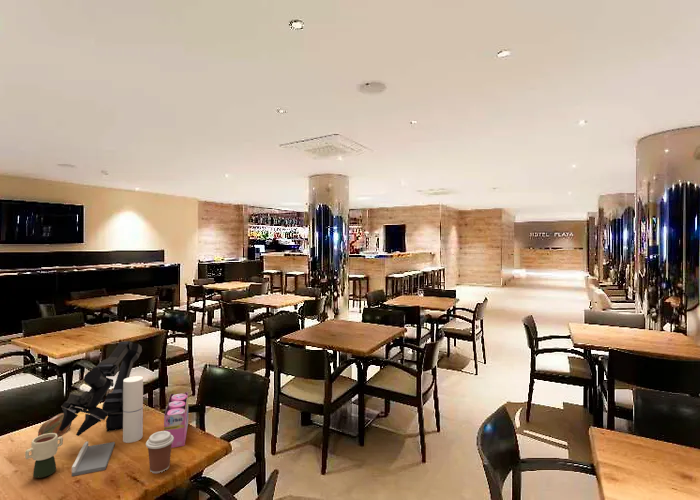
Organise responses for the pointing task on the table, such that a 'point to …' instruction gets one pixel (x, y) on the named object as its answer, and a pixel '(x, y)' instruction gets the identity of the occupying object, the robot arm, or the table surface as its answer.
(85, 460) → the shelf board
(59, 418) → the tin
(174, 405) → the gum box
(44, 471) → the character mug
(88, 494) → the table surface
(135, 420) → the cylindrical container
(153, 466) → the coffee cup
